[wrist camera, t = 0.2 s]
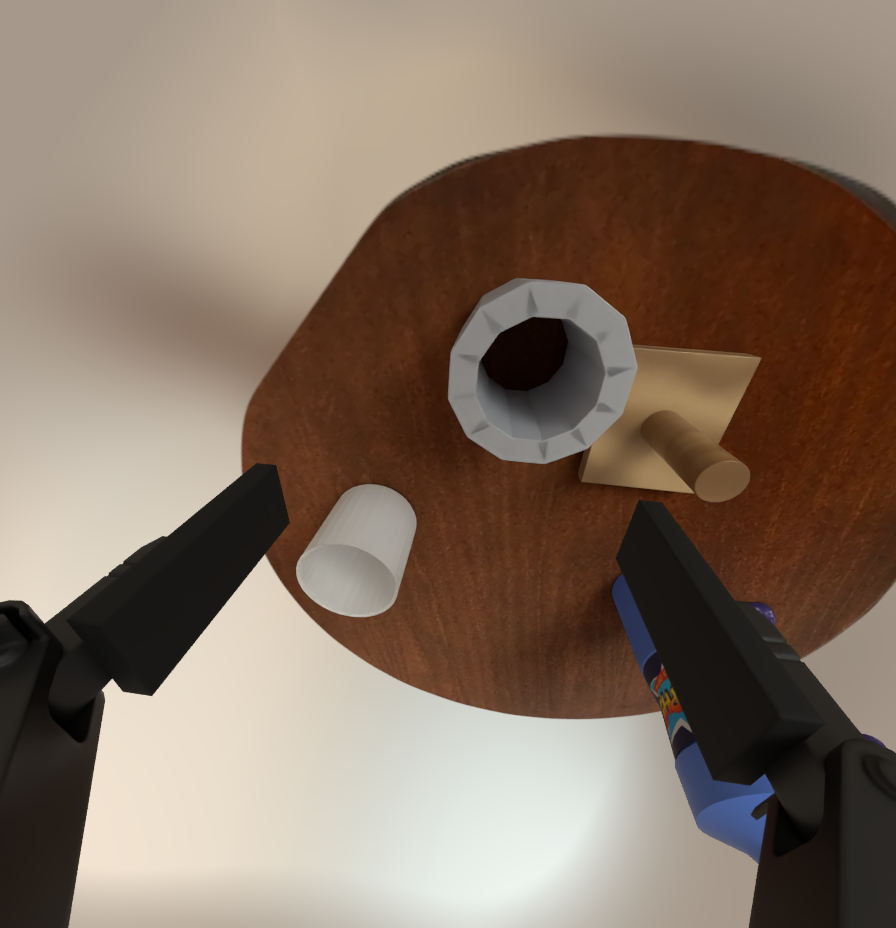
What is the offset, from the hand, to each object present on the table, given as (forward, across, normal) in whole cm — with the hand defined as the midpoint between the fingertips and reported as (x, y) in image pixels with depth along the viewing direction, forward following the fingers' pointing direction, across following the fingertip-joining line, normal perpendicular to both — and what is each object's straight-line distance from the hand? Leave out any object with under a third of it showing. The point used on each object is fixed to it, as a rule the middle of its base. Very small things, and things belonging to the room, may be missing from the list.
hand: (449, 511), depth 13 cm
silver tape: (+19, +4, +2) cm, 20 cm away
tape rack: (+19, +16, -3) cm, 25 cm away
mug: (+19, -10, -17) cm, 28 cm away
